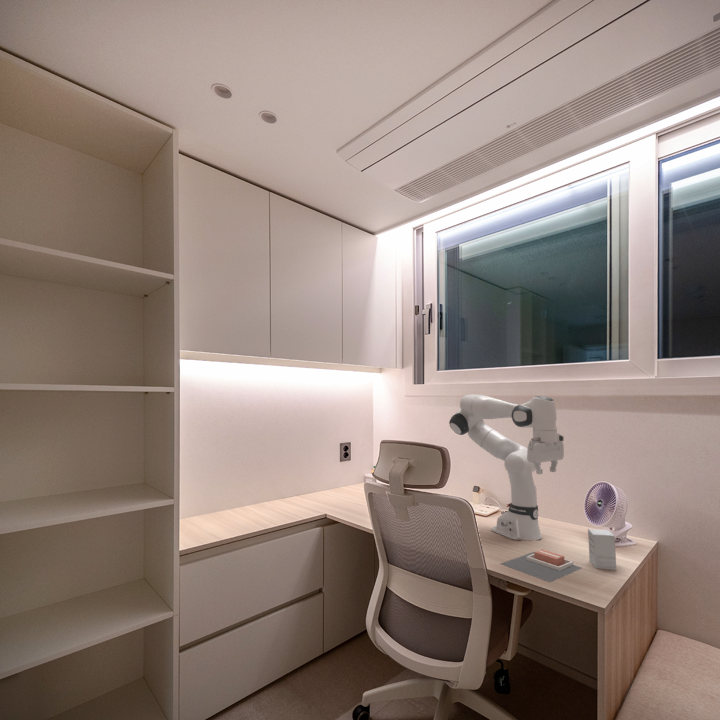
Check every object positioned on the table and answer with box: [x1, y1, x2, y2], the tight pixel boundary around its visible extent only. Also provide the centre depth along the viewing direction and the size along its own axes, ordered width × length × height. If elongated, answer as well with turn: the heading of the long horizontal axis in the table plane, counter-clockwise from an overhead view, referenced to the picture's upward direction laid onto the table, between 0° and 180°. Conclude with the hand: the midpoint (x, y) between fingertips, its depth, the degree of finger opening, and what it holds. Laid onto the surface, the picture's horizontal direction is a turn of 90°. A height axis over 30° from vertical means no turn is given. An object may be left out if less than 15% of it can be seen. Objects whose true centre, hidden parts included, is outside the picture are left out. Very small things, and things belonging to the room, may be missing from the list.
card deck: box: [533, 549, 565, 567], centre depth 162 cm, size 9×6×3 cm, turn 35°
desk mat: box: [500, 551, 582, 583], centre depth 159 cm, size 20×22×1 cm
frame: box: [526, 554, 574, 571], centre depth 162 cm, size 13×10×1 cm
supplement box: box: [587, 528, 617, 571], centre depth 160 cm, size 7×7×13 cm
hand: (546, 472), depth 165 cm, fingers open, 8 cm apart
